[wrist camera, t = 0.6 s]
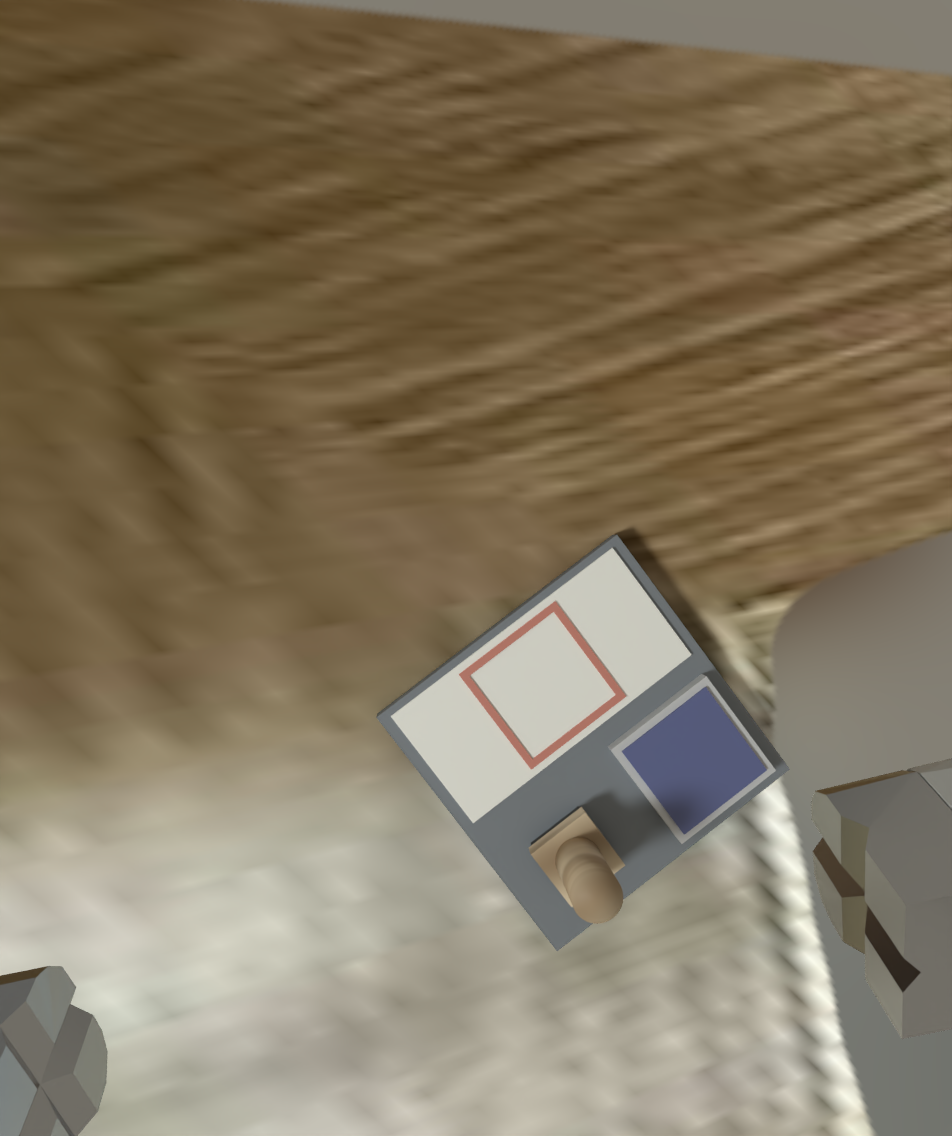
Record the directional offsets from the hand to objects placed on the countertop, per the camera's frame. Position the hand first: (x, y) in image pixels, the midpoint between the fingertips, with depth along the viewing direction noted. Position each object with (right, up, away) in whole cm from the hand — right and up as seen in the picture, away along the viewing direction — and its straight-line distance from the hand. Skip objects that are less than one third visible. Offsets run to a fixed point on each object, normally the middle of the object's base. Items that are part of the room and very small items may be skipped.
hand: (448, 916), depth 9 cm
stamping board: (+8, -8, +48) cm, 49 cm away
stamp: (+7, -15, +47) cm, 50 cm away
